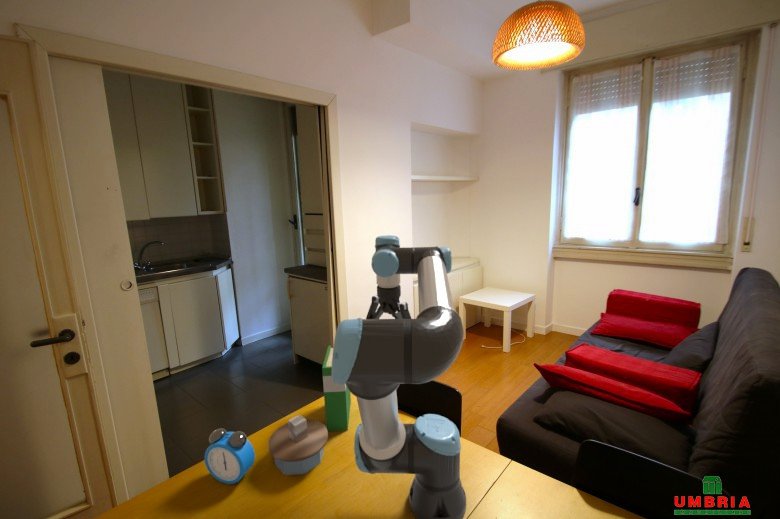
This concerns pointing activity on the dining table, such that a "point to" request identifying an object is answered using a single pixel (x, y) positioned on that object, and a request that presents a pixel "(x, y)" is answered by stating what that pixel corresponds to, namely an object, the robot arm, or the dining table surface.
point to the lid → (298, 439)
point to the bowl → (299, 464)
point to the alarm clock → (229, 456)
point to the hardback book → (335, 398)
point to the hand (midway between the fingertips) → (390, 347)
